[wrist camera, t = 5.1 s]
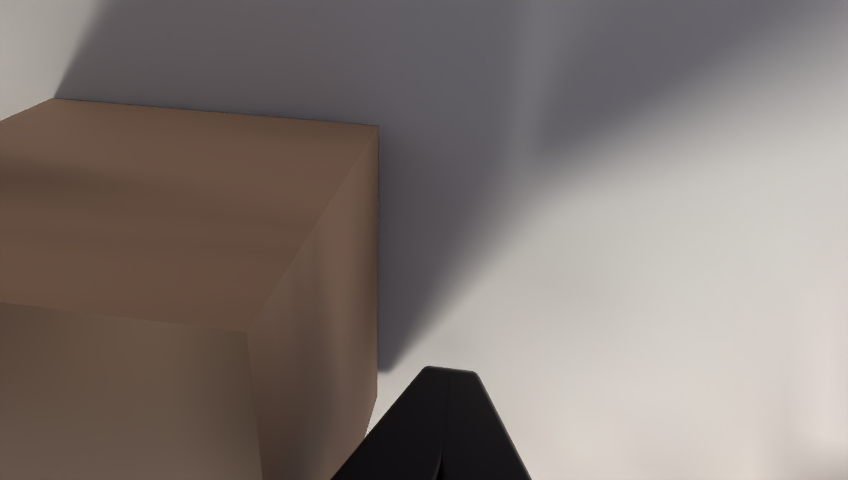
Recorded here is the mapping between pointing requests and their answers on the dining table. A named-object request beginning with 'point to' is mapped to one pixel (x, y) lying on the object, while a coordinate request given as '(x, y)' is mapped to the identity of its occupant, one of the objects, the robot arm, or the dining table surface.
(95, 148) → the walnut block
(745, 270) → the dining table surface
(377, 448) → the robot arm
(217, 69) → the dining table surface
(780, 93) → the dining table surface
